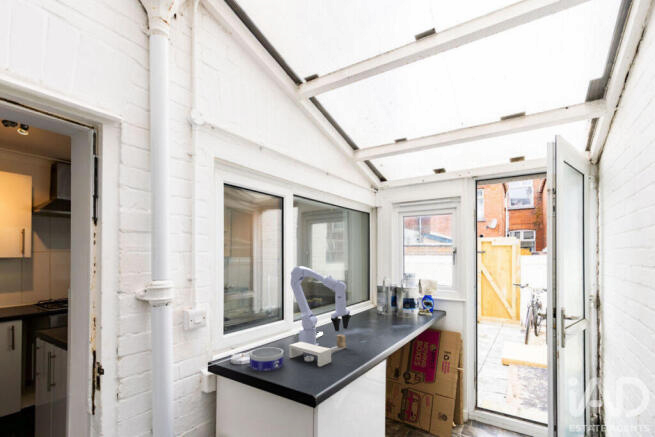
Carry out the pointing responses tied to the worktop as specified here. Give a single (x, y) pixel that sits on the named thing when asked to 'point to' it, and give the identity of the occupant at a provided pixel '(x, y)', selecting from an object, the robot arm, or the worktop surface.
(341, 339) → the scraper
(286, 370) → the worktop surface
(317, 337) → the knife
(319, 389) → the worktop surface
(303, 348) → the small white bench
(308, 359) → the token
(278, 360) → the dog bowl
